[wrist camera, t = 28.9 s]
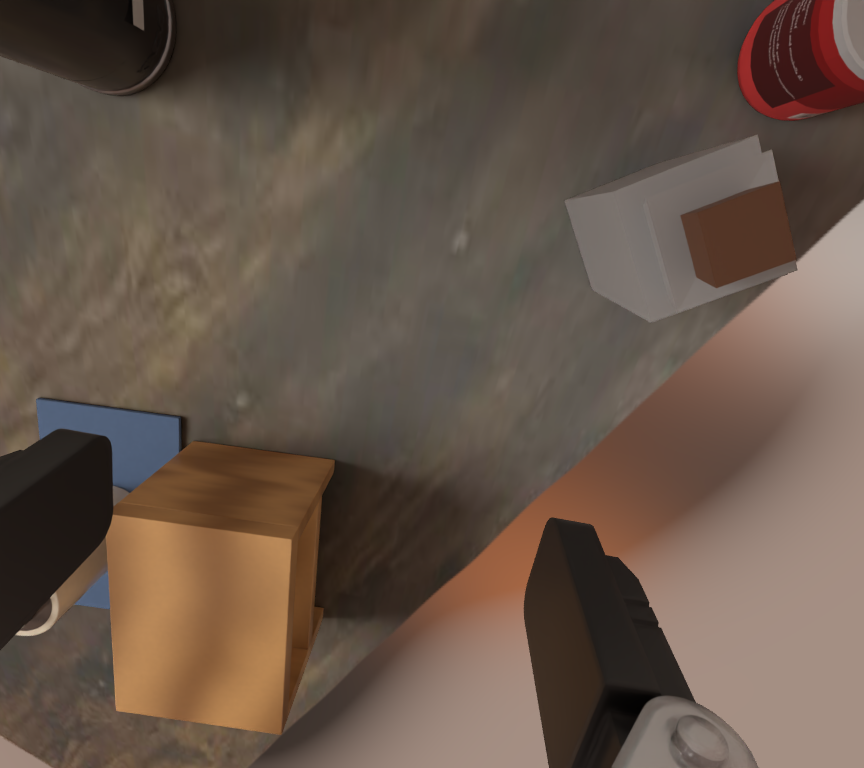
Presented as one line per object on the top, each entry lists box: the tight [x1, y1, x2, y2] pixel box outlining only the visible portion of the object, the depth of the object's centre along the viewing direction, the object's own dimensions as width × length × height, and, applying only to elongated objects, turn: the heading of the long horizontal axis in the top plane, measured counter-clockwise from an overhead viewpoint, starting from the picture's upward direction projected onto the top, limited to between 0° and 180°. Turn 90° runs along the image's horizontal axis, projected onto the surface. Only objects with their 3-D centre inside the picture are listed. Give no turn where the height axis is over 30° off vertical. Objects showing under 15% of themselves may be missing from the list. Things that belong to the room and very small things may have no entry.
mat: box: [36, 398, 181, 609], centre depth 49 cm, size 12×20×1 cm, turn 173°
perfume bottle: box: [564, 135, 797, 323], centre depth 31 cm, size 7×7×18 cm
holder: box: [15, 486, 129, 636], centre depth 41 cm, size 6×6×15 cm
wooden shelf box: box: [106, 441, 335, 735], centre depth 43 cm, size 12×16×12 cm
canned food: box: [737, 0, 864, 121], centre depth 31 cm, size 8×8×11 cm
